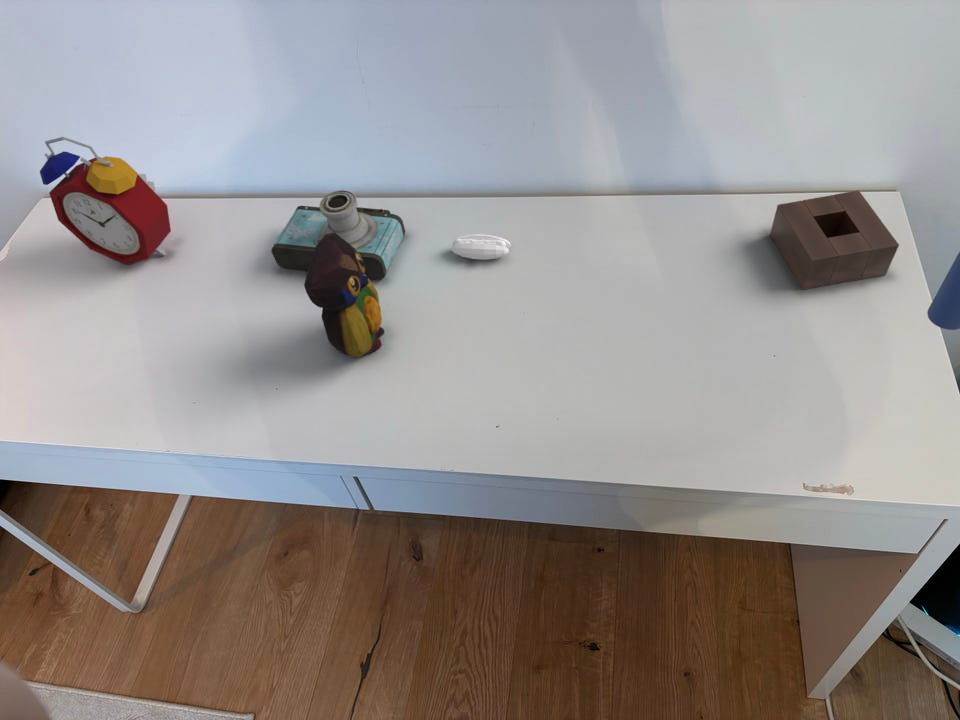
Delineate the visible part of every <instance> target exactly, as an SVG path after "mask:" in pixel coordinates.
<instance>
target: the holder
mask: <svg viewBox="0 0 960 720" xmlns="http://www.w3.org/2000/svg"><path fill="white" fill-rule="evenodd" d="M769 235H770V237H771V239H772V241H773V242H774V243H775V245H776V247H777V249H778V250H779V252H780V254H781V257H783V259H784V262H785V263H786V264H787V266H788V268H789V269H790V271H791V273H792V275H793V276H794V278H795V280H796V282H797V283H798V285H799V286H800V288H801V290H808V289H814V288H815V289H816V288H819V287H825V286H831V285H836V284H842V283H847V282H848V283H849V282H853V281H858V280H865V279H871V278H876V277H883V276H886V275H887V273H888V271H889V269H890V266H891V264H892V262H893V260H894V258H895V255H896V253H897V251H898V249H899V246H900V244H899V243H898V242H897V240H896V238H894V236H893V235H892V233H891V232H890V230H889V229H888V228H887V226H886V225H885V223H884V222H883V221H882V219H880V217H879V215H878V214H877V213H876V211H875V210H874V209H873V208H872V206H871V205H870V203H869V202H868V200H867V199H866V198H865V196H864V195H863V194H862V193H861V191H860V190H853V191H847V192H841V193H836V194H835V193H834V194H831V195H825V196H820V197H819V196H818V197H813V198H808V199H807V198H806V199H803V200H796V201H791V202H785V203H779V204H777V206H776V210H775V213H774V218H773V222H772V225H771V230H770V233H769Z"/></svg>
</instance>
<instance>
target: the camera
mask: <svg viewBox="0 0 960 720" xmlns="http://www.w3.org/2000/svg"><path fill="white" fill-rule="evenodd" d="M334 232H335V233H336V234H337V235H338V236H340V237H341V238H342V239H344V240H345V241H346V242H348V243H349V244H350V245H351V246H352V247H354V248H355V249H356V251H357V252H358V253H359V254H360V256H361V258H362V260H363V263H364V267H365V273H364V274H365V275H366V276H367V277H368V279H369V280H383V279H384V278H385V277H386V275H387V273H388V270H390V266H391V265H392V262H393V260H394V258H395V256H396V254H397V252H398V249H399V248H400V245H401V243H402V241H403V239H404V237H405V235H406V229H405V224H404V222H403V219H402V217H401V216H399V215H398V214H395V213H391V211H390V210H389V209H383V208H371V207H370V208H369V207H358V200H357V197H356V194H354V193H353V192H352V191H349V190H336V191H333V192H330V193H328V194H327V195H325V196H324V197H323V198H322V199H321V200H320V202H319V206H309V205H298V206H297V207H296V209H295V210H294V212H293V213H292V215H291V216H290V218H289V220H288V221H287V223H286V225H285V226H284V228H283V229H282V231H281V233H280V235H279V236H278V237H277V239H276V241H275V242H274V244H273V246H272V248H271V249H270V250H271V251H270V252H271V254H272V256H273V258H274V261H275V263H276V264H277V265H278V266H279V267H280V268H283V269H285V270H292V271H301V272H308V266H309V264H310V262H311V259H312V257H313V254H314V251H315V248H316V246H317V244H318V243H319V242H320V241H321V240H322V238H323V237H324V236H325V235H326V234H330V233H334Z"/></svg>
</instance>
